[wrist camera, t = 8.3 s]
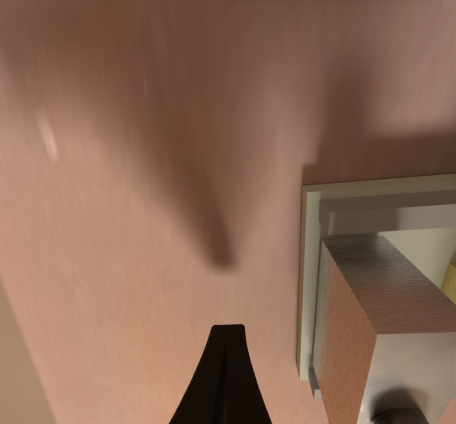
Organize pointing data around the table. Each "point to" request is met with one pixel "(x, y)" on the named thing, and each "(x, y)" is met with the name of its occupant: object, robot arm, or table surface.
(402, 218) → the vise
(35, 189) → the table surface
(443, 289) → the block
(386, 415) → the block
